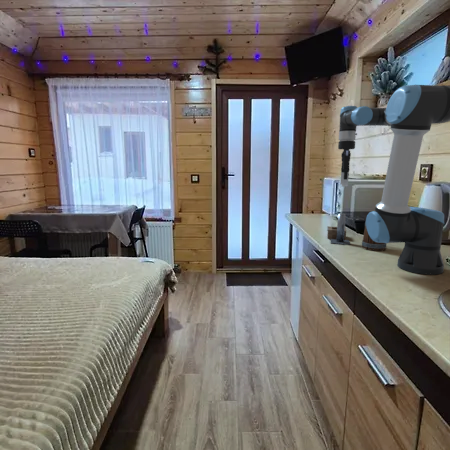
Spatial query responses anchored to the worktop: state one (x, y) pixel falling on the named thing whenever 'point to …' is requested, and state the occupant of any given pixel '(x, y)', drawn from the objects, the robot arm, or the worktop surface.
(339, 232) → the peg
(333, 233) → the block
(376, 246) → the mug
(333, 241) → the mat
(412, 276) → the worktop surface
